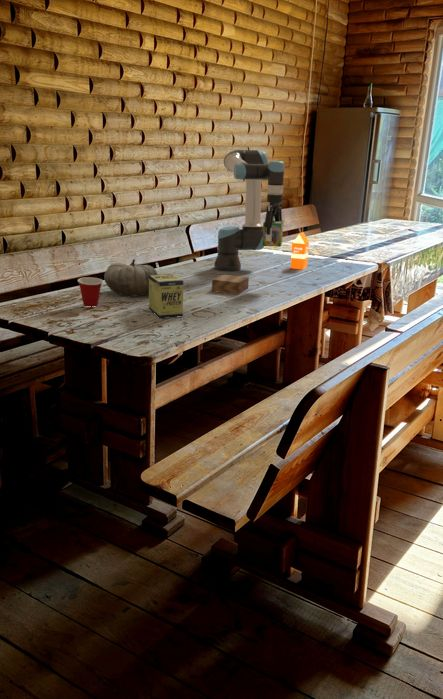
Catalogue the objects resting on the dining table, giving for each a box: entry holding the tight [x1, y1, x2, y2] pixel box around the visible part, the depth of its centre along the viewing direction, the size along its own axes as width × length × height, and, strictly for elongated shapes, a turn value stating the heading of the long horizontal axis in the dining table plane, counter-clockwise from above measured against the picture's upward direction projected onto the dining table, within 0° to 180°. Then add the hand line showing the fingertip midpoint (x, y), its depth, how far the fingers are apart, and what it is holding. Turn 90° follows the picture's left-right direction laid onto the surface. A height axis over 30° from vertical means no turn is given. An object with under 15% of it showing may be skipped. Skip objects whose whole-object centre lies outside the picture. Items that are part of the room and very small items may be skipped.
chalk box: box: [262, 218, 284, 248], centre depth 335 cm, size 9×9×15 cm
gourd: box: [103, 258, 158, 297], centre depth 318 cm, size 25×25×17 cm
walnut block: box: [211, 273, 250, 295], centre depth 333 cm, size 14×14×6 cm
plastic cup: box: [77, 276, 104, 307], centre depth 294 cm, size 11×11×12 cm
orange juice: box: [290, 231, 310, 270], centre depth 390 cm, size 8×9×20 cm
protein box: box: [148, 273, 184, 319], centre depth 286 cm, size 10×16×16 cm
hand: (272, 239), depth 336 cm, fingers closed on chalk box, 10 cm apart
